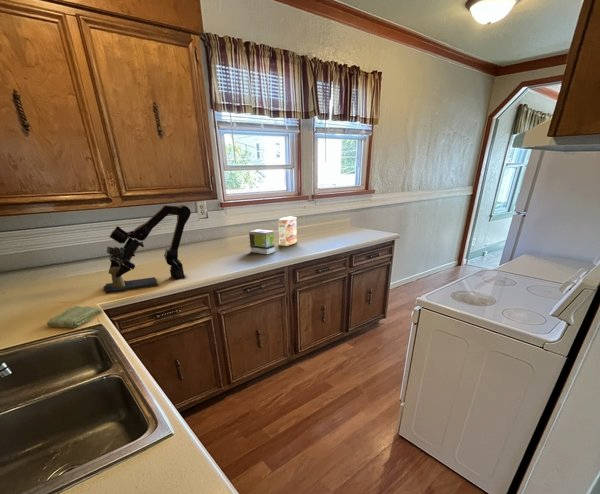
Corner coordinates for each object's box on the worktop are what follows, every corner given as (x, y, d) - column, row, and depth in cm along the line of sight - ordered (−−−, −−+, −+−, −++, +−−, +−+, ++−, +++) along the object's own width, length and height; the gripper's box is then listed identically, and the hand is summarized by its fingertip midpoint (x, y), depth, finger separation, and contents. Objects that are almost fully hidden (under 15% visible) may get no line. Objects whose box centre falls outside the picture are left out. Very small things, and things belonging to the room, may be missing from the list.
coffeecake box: (286, 246, 248) (285, 219, 239) (278, 245, 252) (277, 218, 243) (297, 242, 260) (296, 216, 250) (289, 241, 263) (289, 216, 254)
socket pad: (155, 279, 181) (154, 276, 180) (157, 286, 170) (157, 283, 169) (104, 286, 171) (103, 283, 171) (103, 294, 160) (102, 291, 160)
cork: (121, 290, 165) (115, 269, 160) (110, 289, 166) (104, 268, 161) (128, 286, 171) (123, 265, 165) (118, 285, 172) (113, 265, 167)
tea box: (275, 251, 233) (274, 230, 226) (266, 254, 226) (265, 233, 219) (259, 249, 241) (257, 228, 234) (250, 252, 233) (248, 231, 226)
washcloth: (104, 311, 142) (102, 304, 141) (76, 329, 127) (73, 322, 125) (76, 310, 143) (73, 303, 142) (44, 328, 128) (41, 321, 126)
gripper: (107, 237, 165) (90, 263, 164) (122, 242, 154) (104, 270, 152) (127, 250, 174) (111, 274, 172) (142, 256, 163) (125, 282, 161)
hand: (112, 275), depth 164 cm, fingers open, 9 cm apart
